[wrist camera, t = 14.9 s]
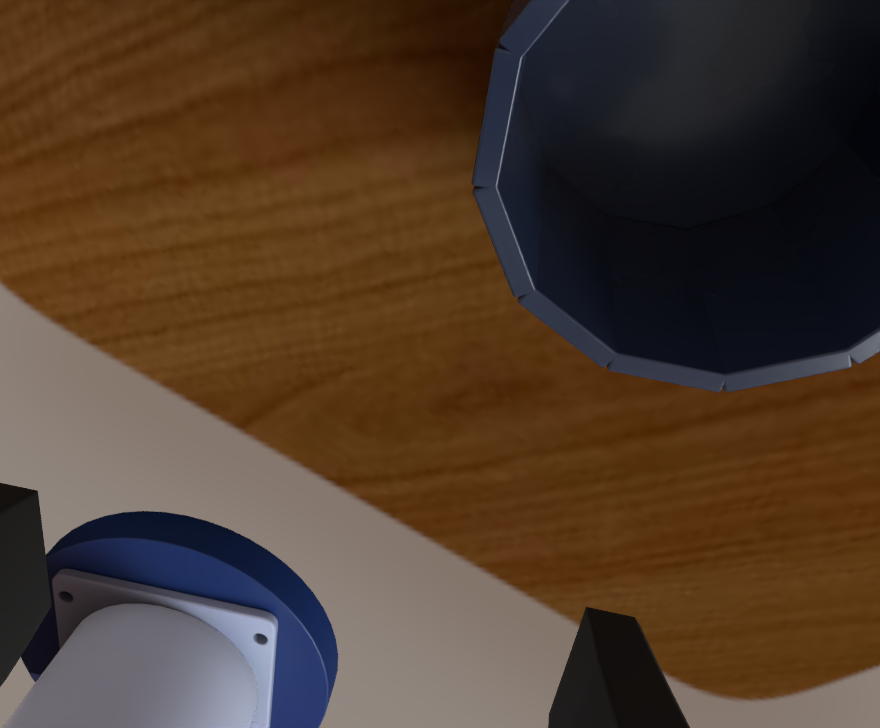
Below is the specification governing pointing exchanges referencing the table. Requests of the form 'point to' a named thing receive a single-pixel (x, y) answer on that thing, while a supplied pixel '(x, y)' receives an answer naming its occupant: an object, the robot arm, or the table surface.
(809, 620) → the table surface
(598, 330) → the pot
